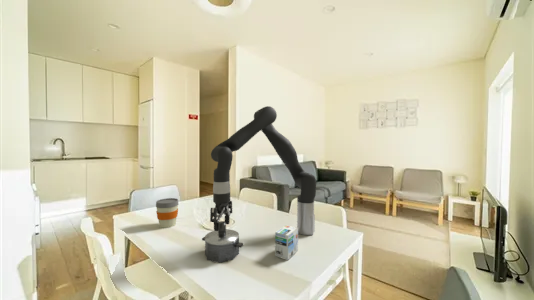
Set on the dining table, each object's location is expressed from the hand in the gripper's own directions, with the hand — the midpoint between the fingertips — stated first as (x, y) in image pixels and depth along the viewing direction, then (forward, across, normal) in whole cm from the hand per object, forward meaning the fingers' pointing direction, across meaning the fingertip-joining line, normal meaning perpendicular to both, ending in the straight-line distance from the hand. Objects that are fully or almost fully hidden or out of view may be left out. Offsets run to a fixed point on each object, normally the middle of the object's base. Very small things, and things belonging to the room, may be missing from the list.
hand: (222, 227), depth 100 cm
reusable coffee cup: (+12, +18, +50) cm, 55 cm away
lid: (+6, 0, 0) cm, 6 cm away
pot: (+12, 0, 0) cm, 12 cm away
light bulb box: (+12, +11, -27) cm, 32 cm away
